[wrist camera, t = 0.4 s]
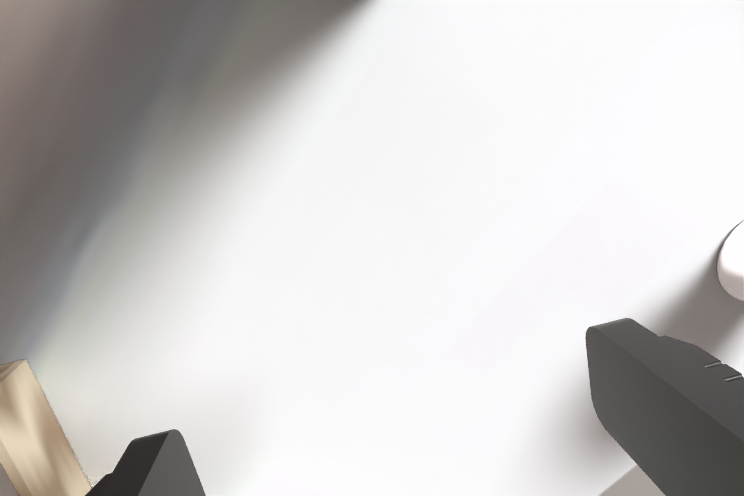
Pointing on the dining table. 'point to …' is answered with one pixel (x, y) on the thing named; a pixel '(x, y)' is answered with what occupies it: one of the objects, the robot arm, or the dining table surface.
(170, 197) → the dining table surface
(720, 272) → the beer glass
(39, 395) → the birch frame
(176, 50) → the dining table surface
